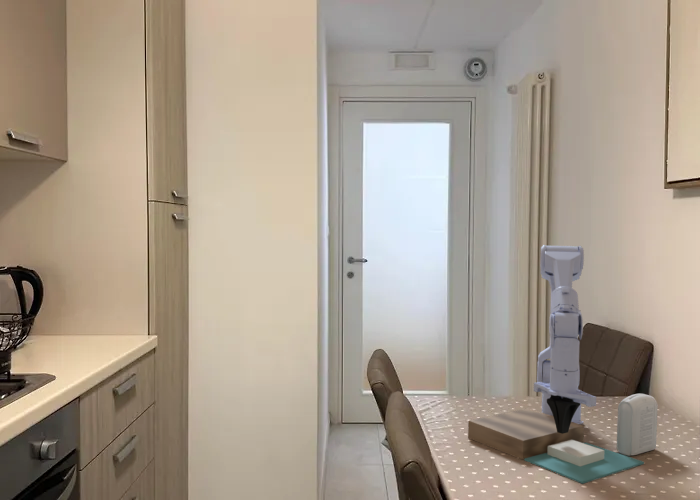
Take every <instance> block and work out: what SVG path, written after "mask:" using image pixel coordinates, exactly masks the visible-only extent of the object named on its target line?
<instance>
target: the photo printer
mask: <svg viewBox="0 0 700 500" xmlns="http://www.w3.org/2000/svg"><path fill="white" fill-rule="evenodd" d="M658 408H659V407H658V402H657V400H656V399H655V397H653V396H652V395H650V394H649V395H648V394H645V393H635V394H631V395H629V396H627V397H625V398H623V399H622V400H621V401H620V402H619V404H618V406H617V424H616V425H617V426H616V427H617V429H616V452H617V451H618V452H617V453H619V454H622V455H625V456H628V457H631V456H636V455H640V454H643V453H647V452H649V451H650V452H651V451H654V450H655V449H656V447H657V431H658V430H657V428H658Z"/></svg>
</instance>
